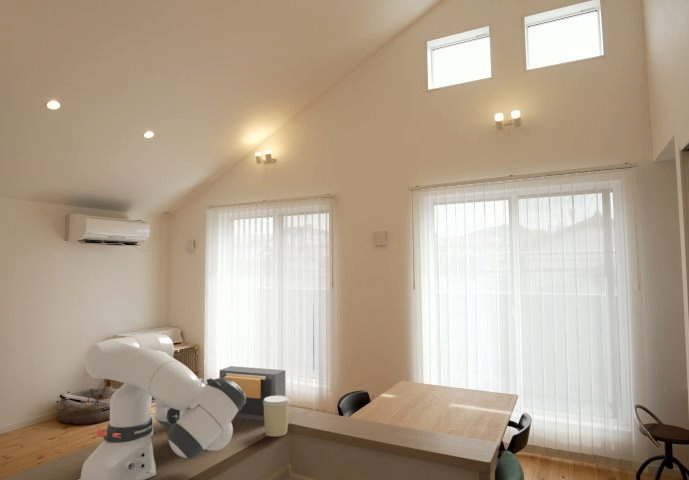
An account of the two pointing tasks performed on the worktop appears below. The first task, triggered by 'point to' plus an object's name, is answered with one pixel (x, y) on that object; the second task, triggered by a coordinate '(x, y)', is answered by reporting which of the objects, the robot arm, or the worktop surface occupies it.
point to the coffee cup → (276, 415)
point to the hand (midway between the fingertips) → (230, 392)
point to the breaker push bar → (248, 386)
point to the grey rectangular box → (269, 387)
